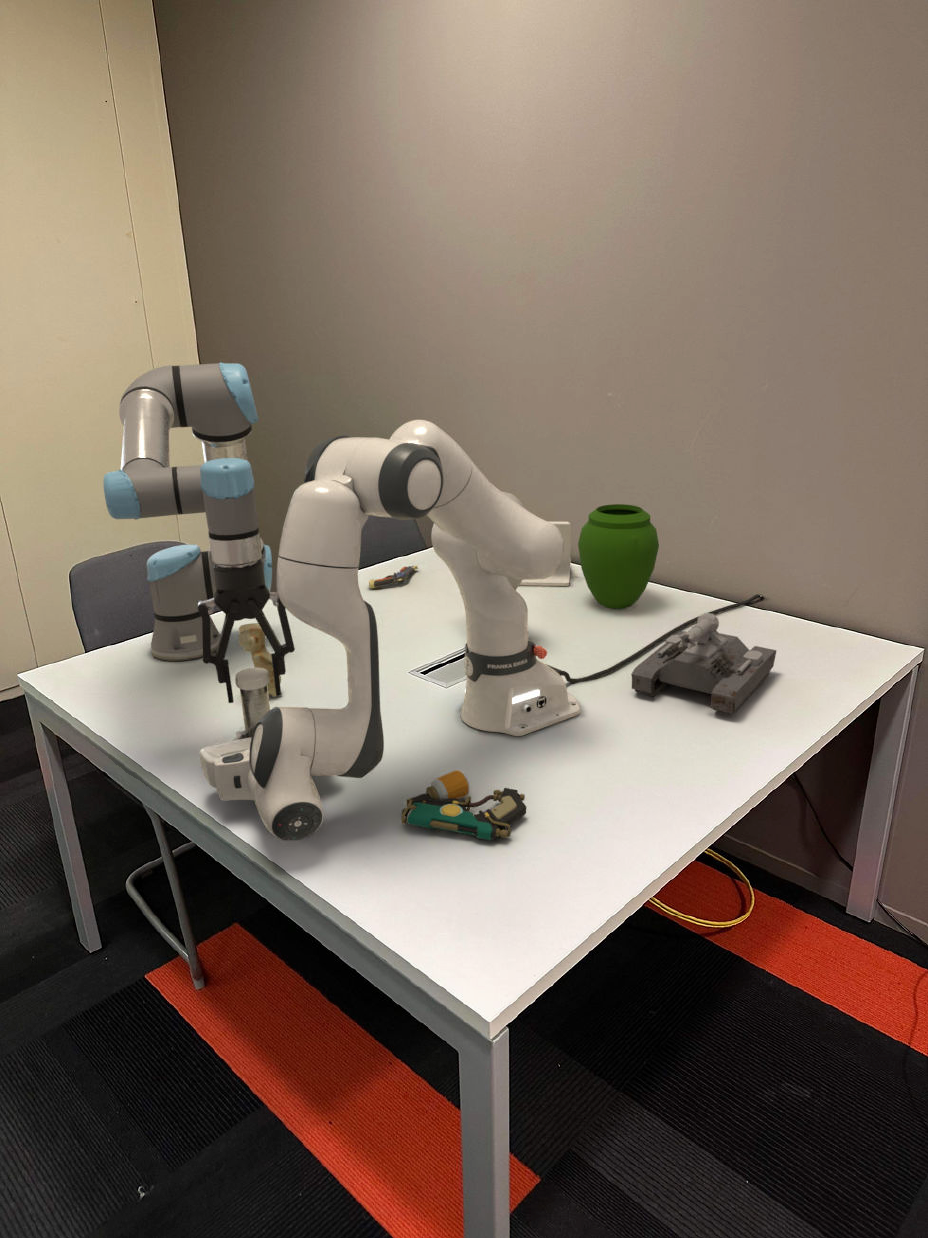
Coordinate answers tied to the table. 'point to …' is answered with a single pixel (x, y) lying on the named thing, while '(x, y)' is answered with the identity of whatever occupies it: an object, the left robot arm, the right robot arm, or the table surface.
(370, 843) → the table surface
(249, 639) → the sculpture
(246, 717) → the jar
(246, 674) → the lid
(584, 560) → the vase
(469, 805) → the spray gun
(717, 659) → the toy
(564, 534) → the tablet stand
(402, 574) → the toy gun
